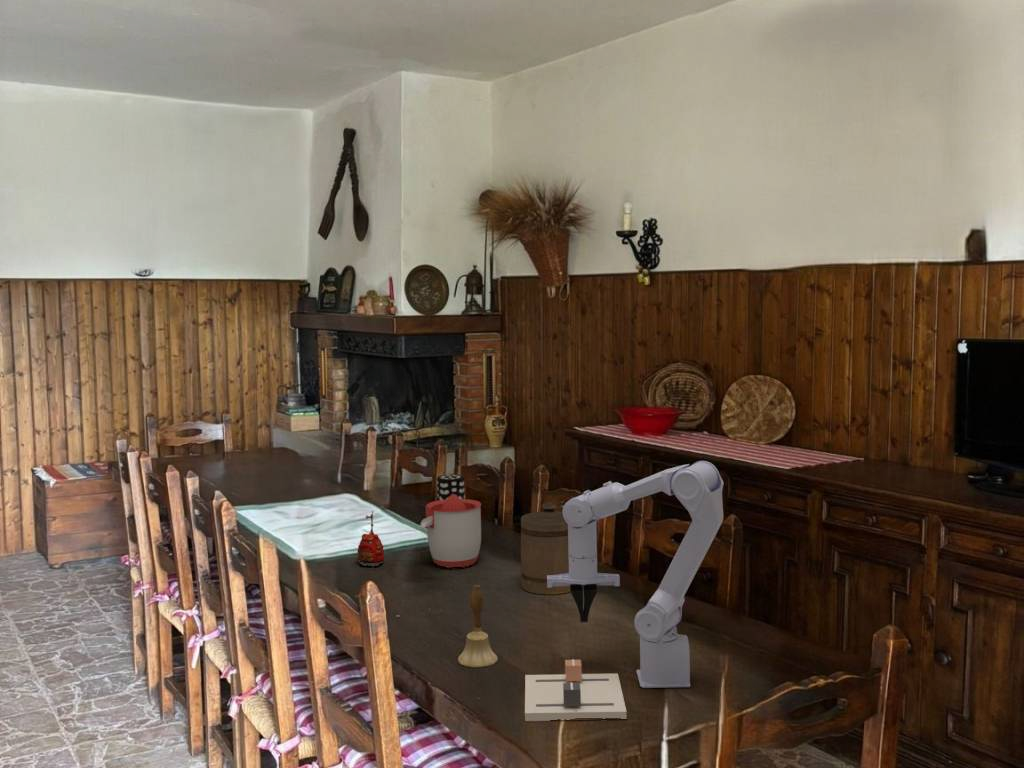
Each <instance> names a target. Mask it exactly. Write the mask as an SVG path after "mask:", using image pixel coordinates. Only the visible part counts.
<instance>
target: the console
mask: <svg viewBox="0 0 1024 768" xmlns="http://www.w3.org/2000/svg"><path fill="white" fill-rule="evenodd" d="M524 676H525V678H524V681H525V682H524V683H525V684H524V685H525V686H524V687H525V689H524V721H525V722H551V721H550V720H557V719H566V720H570V719H575V718H603V719H605V718H621V719H627V717H628V716H627V712H628V711H627V707H626V704H625V699H624V693H623V691H622V685H621V682H620V678H619V673H616V672H615V673H582V681H566V675H565V673H564V674H525V675H524ZM563 683H580V690H581V706H564V700H563ZM627 720H628V719H627Z"/></svg>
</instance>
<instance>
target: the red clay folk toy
mask: <svg viewBox="0 0 1024 768" xmlns="http://www.w3.org/2000/svg"><path fill="white" fill-rule="evenodd" d="M365 519H366V520H368V519H370V521H371V524H370V527H371V528H370V532H369V533H363V534H362V535H361V539H360V541H359V544H358V549H357V554H358V557H357V559H358V561H359V560H360V562H363V563H380V562H382V561H383V562H384V561H385V550H384V546H383V543H382V540H381V538H380V537H379V535H378V534H375V533H374V530H373V527H374V522H373V521H374V510H372V511H371V514H370V516H369V515H365Z"/></svg>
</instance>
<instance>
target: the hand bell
mask: <svg viewBox="0 0 1024 768" xmlns="http://www.w3.org/2000/svg"><path fill="white" fill-rule="evenodd" d="M470 605H471V606H470V607H471V611H472V614H473V615H472V616H473V628H472V631H471V632H468V633H467V635H466V640H465V646H464V649H463V651H462V653H461V654H460V655H459V656H458V658H457V662H458V663H459V664H460V665H462V666H464V667H469V668H485V667H489V666H492V665H494V664H496V662H498V660H499V659H498V658H499V657H498V656H497V654H496V653H495V652H494V651H493V650H492V647H491V645H490V640H489V635H488V633H486V632H484V631H483V630H482V619H481V618H482V611H483V607H484V596H483V592H482V590H481V585H480V584H474V585H473V587H472V592H471V594H470Z"/></svg>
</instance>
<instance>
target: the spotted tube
mask: <svg viewBox="0 0 1024 768" xmlns="http://www.w3.org/2000/svg"><path fill="white" fill-rule="evenodd" d="M436 485H437V486H436V488H437V489H436V490H437V491H436V492H437V493H436V495H437V501H439V500H446V499H448V498H449V497H450V496H451V495H452V494H455V495H456V496H457V497H458V498H459V499H466V492H465V476H464V475H462V474H444V475H443V474H442V475H438V476H436Z"/></svg>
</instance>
